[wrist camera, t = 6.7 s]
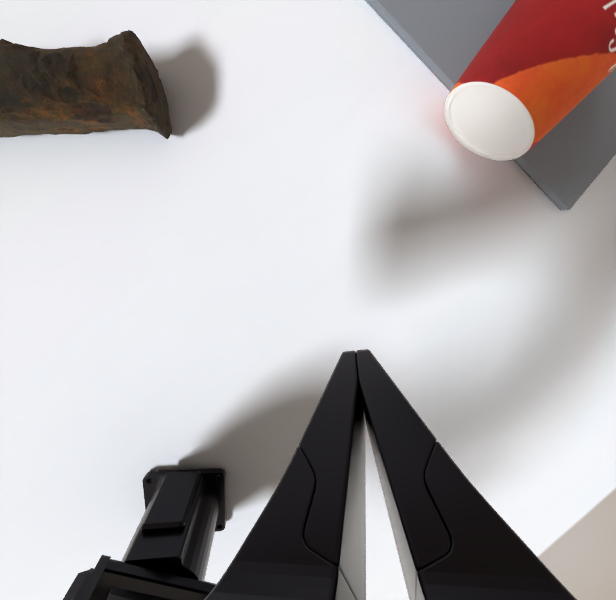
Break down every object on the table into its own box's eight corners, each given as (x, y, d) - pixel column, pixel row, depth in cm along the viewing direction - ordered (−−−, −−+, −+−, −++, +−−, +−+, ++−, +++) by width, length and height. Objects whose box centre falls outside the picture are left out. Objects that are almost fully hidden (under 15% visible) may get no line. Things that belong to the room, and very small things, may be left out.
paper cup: (602, 120, 10) (1042, -328, 7) (446, 28, 12) (763, -388, 8) (507, 189, 18) (701, -14, 15) (420, 129, 19) (581, -71, 16)
